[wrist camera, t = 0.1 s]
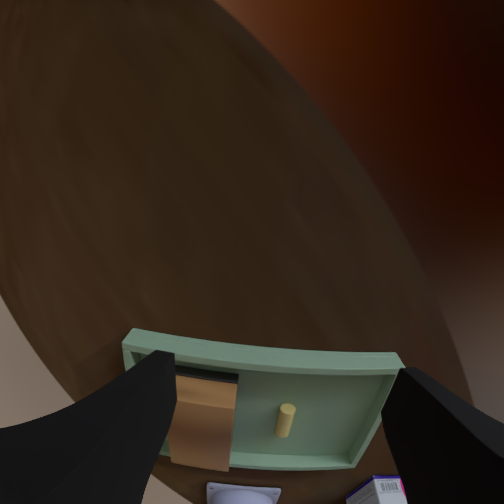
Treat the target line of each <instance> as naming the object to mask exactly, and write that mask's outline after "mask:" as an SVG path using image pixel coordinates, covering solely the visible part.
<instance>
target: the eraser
mask: <svg viewBox="0 0 504 504" xmlns="http://www.w3.org/2000/svg"><path fill="white" fill-rule="evenodd" d="M175 372H176V390H177V403H176V407H175V411H174V415H173V419H172V422H171V426H170V428H169V431H168V433H167V438H168V444H169V451H170V457H171V462H172V463H177V464H182V465H187V466H193V467H198V468H205V469H211V470H218V471H226V472H228V471H229V463H230V455H231V447H232V439H233V429H234V419H235V409H236V399H237V389H238V379H239V374H236V373H228V372H220V371H212V370H205V369H199V368H192V367H186V366H180V365H175Z"/></svg>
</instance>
